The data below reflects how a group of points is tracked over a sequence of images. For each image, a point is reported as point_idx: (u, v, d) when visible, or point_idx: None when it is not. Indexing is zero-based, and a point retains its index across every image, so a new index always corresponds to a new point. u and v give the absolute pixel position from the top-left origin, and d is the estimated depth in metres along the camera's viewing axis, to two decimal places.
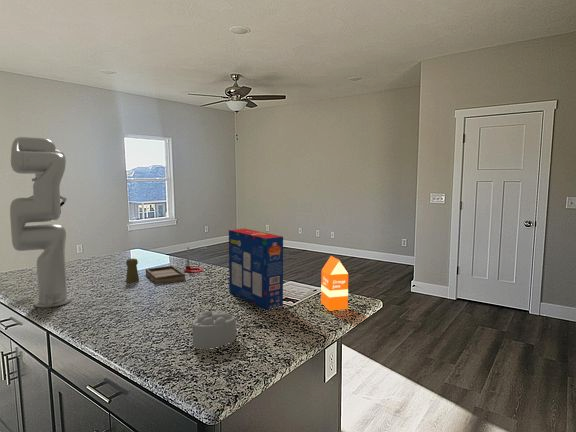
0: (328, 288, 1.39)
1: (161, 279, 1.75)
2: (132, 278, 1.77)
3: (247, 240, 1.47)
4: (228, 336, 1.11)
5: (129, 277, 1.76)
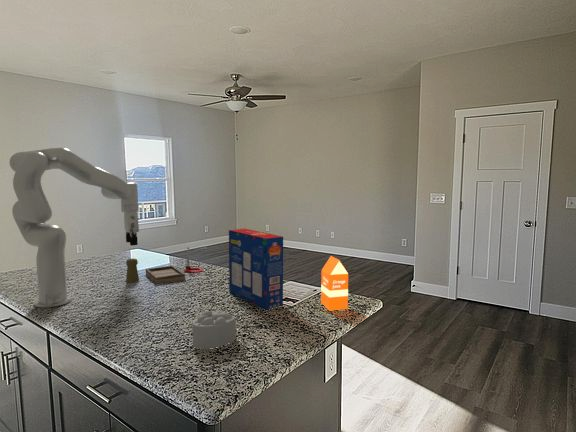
0: (328, 288, 1.39)
1: (161, 279, 1.75)
2: (132, 278, 1.77)
3: (248, 240, 1.48)
4: (228, 336, 1.11)
5: (129, 277, 1.76)
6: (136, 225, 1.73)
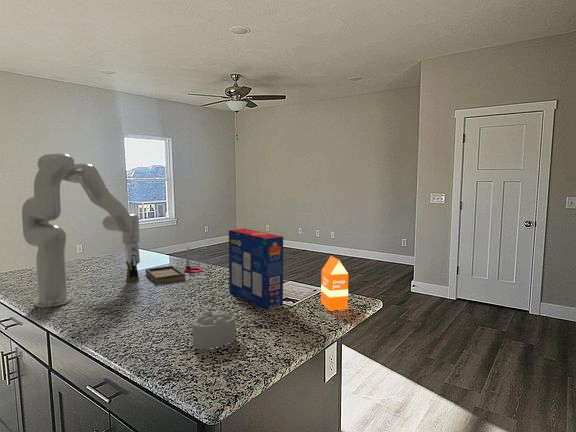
0: (328, 288, 1.39)
1: (161, 279, 1.75)
2: (132, 278, 1.77)
3: (248, 240, 1.48)
4: (228, 336, 1.11)
5: (129, 277, 1.76)
6: (137, 256, 1.75)
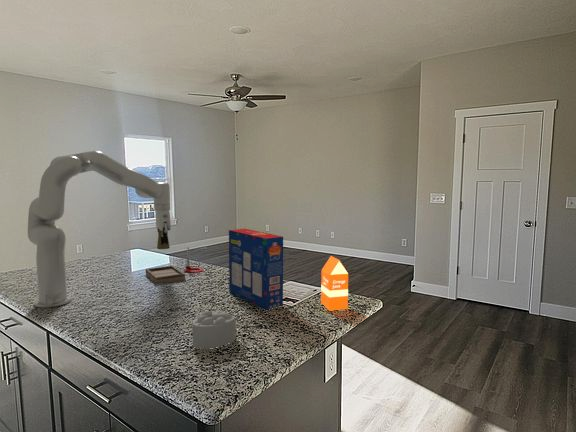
0: (328, 288, 1.39)
1: (161, 279, 1.75)
2: (163, 245, 1.82)
3: (248, 240, 1.48)
4: (228, 336, 1.11)
5: (160, 243, 1.81)
6: (168, 223, 1.80)
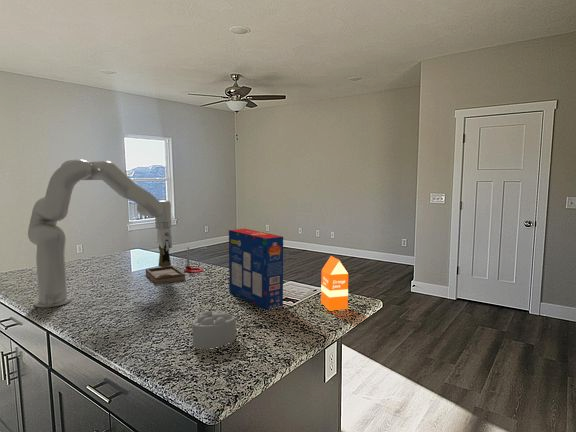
0: (328, 288, 1.39)
1: (161, 279, 1.75)
2: (165, 263, 1.83)
3: (248, 240, 1.48)
4: (228, 336, 1.11)
5: (162, 261, 1.82)
6: (169, 241, 1.81)
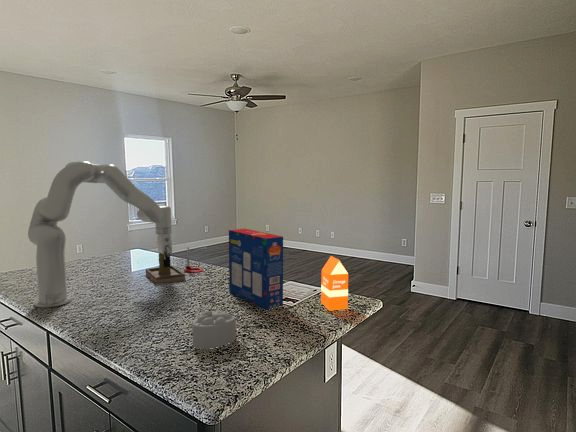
0: (328, 288, 1.39)
1: (161, 279, 1.75)
2: (165, 271, 1.83)
3: (247, 240, 1.47)
4: (228, 336, 1.11)
5: (162, 270, 1.83)
6: (170, 247, 1.81)
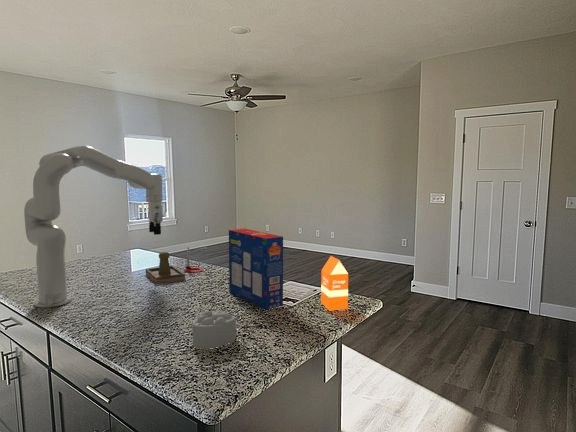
0: (328, 288, 1.39)
1: (161, 279, 1.75)
2: (165, 271, 1.83)
3: (247, 240, 1.47)
4: (228, 336, 1.11)
5: (162, 270, 1.83)
6: (160, 215, 1.79)
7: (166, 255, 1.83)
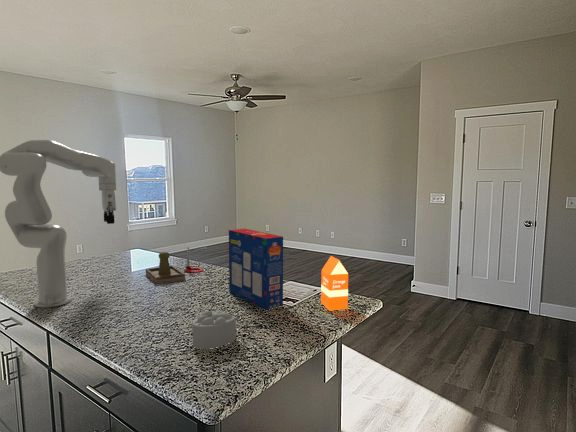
0: (328, 288, 1.39)
1: (161, 279, 1.75)
2: (165, 271, 1.83)
3: (247, 240, 1.47)
4: (228, 336, 1.11)
5: (162, 270, 1.83)
6: (113, 204, 1.75)
7: (166, 255, 1.83)
